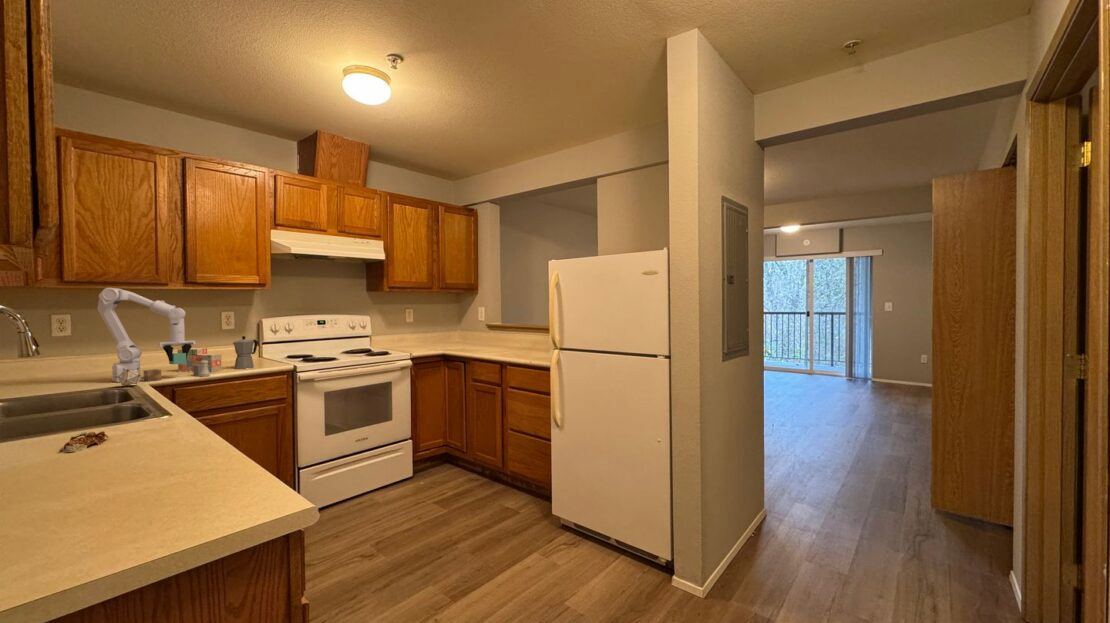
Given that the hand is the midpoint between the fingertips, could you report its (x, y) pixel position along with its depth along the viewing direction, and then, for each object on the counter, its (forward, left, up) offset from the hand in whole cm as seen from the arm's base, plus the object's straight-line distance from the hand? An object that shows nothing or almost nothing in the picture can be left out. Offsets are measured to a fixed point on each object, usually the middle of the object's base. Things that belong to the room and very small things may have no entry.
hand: (177, 360), depth 229 cm
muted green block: (0, 0, -2) cm, 2 cm away
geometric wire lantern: (-22, -12, -9) cm, 27 cm away
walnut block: (-10, 0, -8) cm, 13 cm away
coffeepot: (+35, +8, -9) cm, 37 cm away
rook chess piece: (+8, -8, -9) cm, 14 cm away
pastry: (-63, -115, -9) cm, 131 cm away
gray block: (+10, 0, -8) cm, 13 cm away
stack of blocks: (+16, +17, -9) cm, 25 cm away
